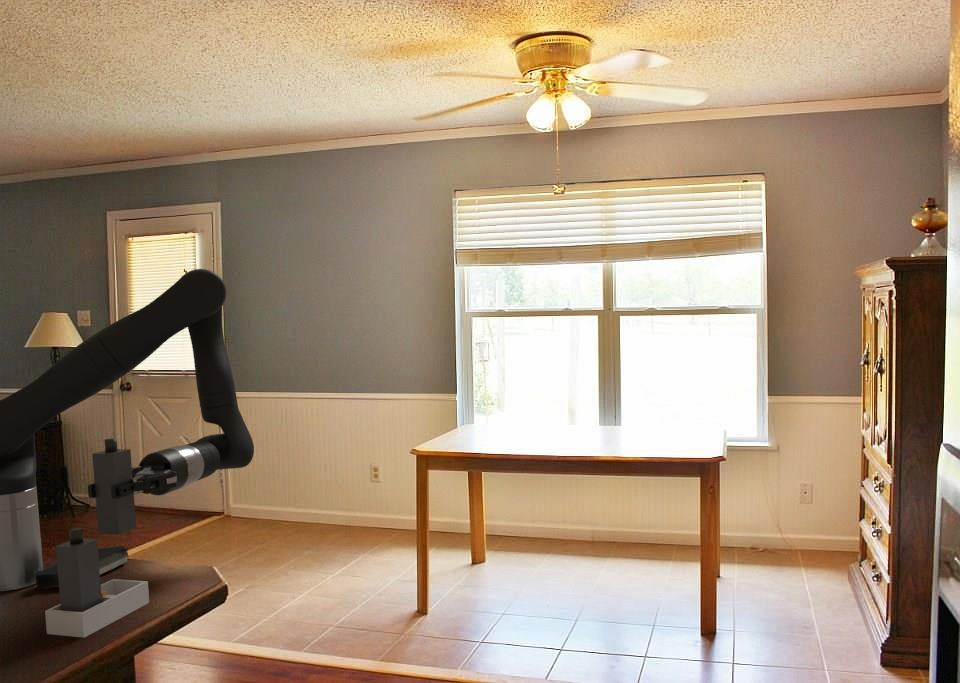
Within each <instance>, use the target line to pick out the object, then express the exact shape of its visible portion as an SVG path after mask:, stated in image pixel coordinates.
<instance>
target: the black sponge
mask: <svg viewBox="0 0 960 683" xmlns="http://www.w3.org/2000/svg"><path fill="white" fill-rule="evenodd" d="M98 557H99V570H100V576H101V575H103V574H105V573H107V572H109V571H112V570H114V569H115V568H117V567H119V566H122V565H123V564H125V563H127V562H128V560H127V559H129V552H128V548H127V547H126V546H111V547H110V546H109V547H101V548H98ZM35 576H36V583H35V584H36V586H37V588H39V589H51V588H59V579H58V566H57V564H55V565H51V566H50V567H47V568H45V569H43V570H42V571H40V572H37V573H35Z"/></svg>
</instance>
